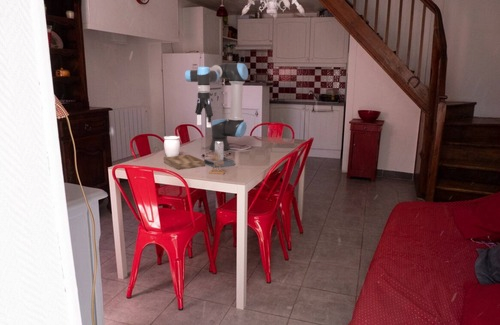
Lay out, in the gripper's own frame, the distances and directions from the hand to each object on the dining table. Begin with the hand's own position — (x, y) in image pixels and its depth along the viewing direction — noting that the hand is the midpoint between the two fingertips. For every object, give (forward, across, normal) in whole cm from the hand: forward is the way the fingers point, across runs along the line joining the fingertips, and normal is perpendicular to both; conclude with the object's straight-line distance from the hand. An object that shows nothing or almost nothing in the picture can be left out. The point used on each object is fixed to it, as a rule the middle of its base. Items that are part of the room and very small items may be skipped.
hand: (203, 126), depth 241 cm
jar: (+24, -23, -12) cm, 36 cm away
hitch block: (+24, +8, +7) cm, 26 cm away
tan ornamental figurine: (+25, +26, -5) cm, 36 cm away
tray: (+24, -3, -13) cm, 28 cm away
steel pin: (+24, +8, +7) cm, 26 cm away
